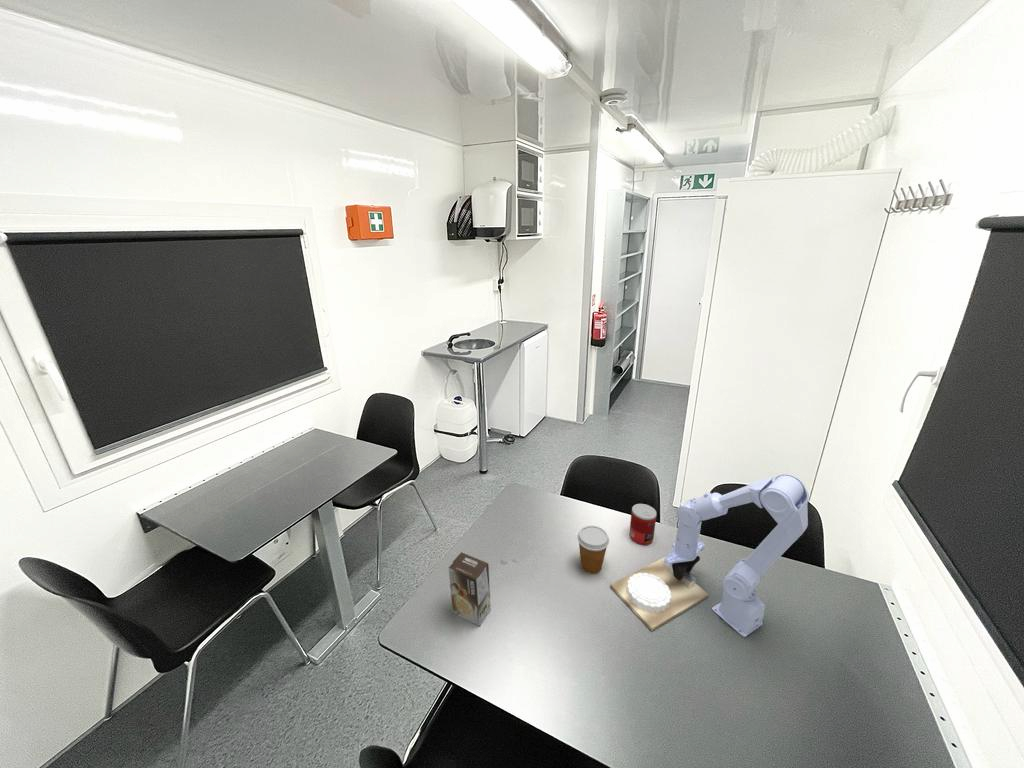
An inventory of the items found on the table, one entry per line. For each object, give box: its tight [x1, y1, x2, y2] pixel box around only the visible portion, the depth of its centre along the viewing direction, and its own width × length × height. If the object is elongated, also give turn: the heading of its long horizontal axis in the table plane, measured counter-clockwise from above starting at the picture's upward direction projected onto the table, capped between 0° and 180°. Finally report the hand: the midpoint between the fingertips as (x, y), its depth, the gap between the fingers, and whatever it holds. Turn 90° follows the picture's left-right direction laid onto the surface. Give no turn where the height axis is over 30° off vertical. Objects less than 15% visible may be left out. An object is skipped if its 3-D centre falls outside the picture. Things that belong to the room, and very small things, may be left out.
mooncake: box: [626, 573, 671, 613], centre depth 112 cm, size 12×12×4 cm
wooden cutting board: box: [609, 557, 710, 632], centre depth 114 cm, size 16×22×3 cm
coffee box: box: [448, 552, 492, 627], centre depth 107 cm, size 9×6×16 cm
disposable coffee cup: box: [576, 525, 610, 575], centre depth 122 cm, size 10×10×12 cm
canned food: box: [628, 503, 657, 546], centre depth 134 cm, size 8×8×11 cm
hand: (680, 575), depth 118 cm, fingers closed on wooden cutting board, 3 cm apart
